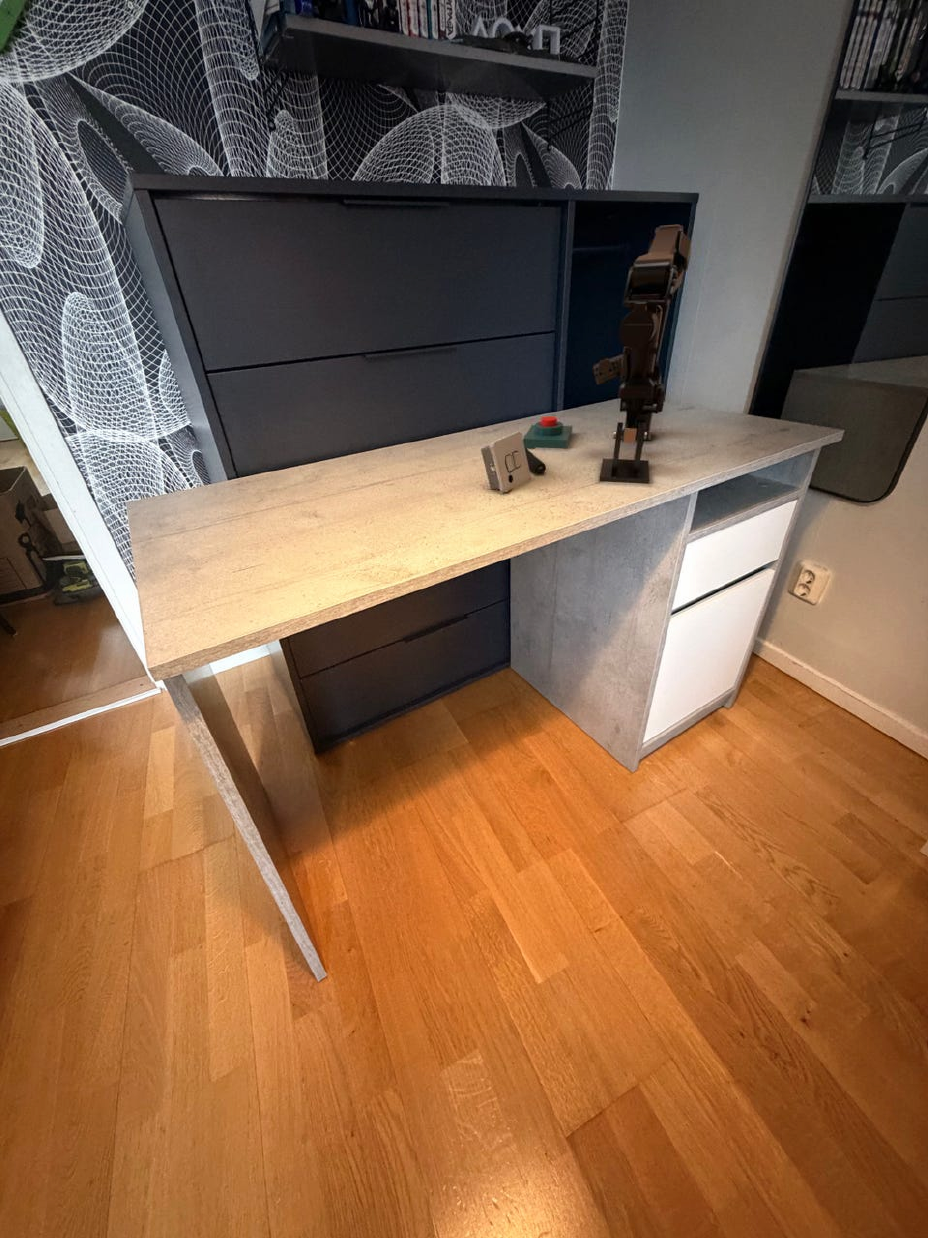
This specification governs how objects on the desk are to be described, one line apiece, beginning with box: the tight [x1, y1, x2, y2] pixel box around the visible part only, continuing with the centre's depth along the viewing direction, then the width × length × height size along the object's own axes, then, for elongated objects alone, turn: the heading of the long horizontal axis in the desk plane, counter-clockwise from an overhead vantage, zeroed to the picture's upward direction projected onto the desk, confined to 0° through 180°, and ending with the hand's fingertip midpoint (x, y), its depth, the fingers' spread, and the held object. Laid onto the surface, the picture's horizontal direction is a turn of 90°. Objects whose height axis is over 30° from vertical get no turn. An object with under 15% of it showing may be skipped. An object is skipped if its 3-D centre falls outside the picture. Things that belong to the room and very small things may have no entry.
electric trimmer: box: [524, 447, 547, 473], centre depth 103 cm, size 4×16×3 cm, turn 16°
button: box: [540, 416, 558, 427], centre depth 114 cm, size 4×4×2 cm
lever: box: [621, 426, 637, 444], centre depth 98 cm, size 14×3×3 cm, turn 164°
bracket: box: [599, 421, 650, 485], centre depth 94 cm, size 11×9×9 cm
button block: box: [522, 420, 573, 450], centre depth 116 cm, size 12×10×4 cm
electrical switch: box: [480, 431, 531, 494], centre depth 94 cm, size 9×5×9 cm, turn 141°
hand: (629, 426), depth 102 cm, fingers closed, pressing on lever
